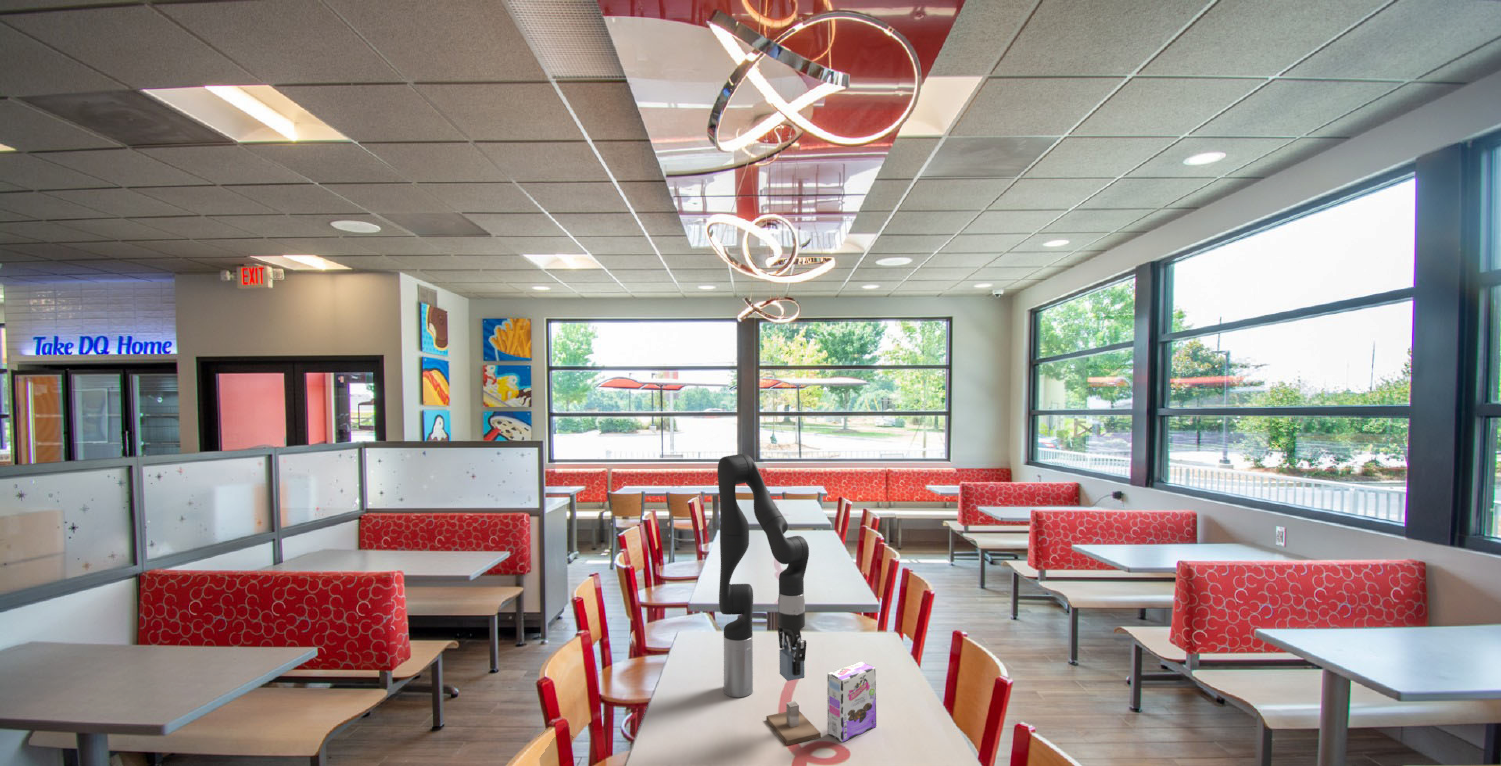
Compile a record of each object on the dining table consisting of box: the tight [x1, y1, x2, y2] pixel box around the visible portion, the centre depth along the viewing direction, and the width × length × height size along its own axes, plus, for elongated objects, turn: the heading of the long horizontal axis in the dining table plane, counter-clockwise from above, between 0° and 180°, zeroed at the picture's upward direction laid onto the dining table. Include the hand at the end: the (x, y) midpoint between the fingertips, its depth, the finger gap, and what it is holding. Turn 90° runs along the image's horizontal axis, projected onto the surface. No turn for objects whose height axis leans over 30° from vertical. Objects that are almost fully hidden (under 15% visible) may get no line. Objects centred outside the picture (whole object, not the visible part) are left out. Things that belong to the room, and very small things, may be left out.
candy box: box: [827, 661, 877, 743], centre depth 165 cm, size 14×6×16 cm, turn 126°
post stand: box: [765, 700, 822, 746], centre depth 166 cm, size 14×10×7 cm
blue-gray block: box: [779, 647, 805, 682], centre depth 166 cm, size 5×5×7 cm
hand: (791, 670), depth 166 cm, fingers closed on blue-gray block, 5 cm apart
